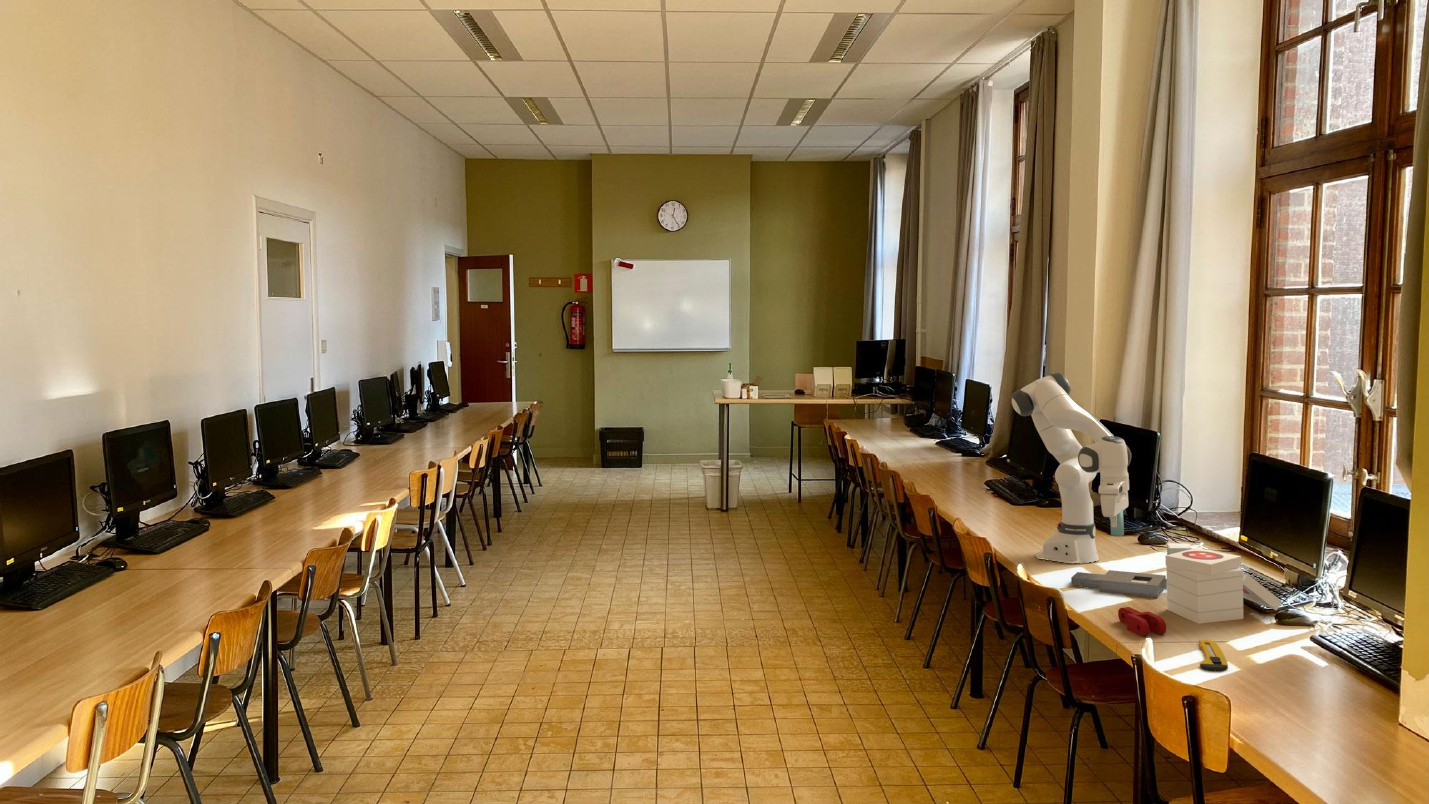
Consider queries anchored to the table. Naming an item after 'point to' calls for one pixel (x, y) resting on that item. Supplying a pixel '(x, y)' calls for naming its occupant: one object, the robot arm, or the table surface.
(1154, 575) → the plate
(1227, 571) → the white stacked boxes
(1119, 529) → the peg
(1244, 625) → the table surface
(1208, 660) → the utility knife
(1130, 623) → the mechanical linkage
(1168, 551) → the supplement box
